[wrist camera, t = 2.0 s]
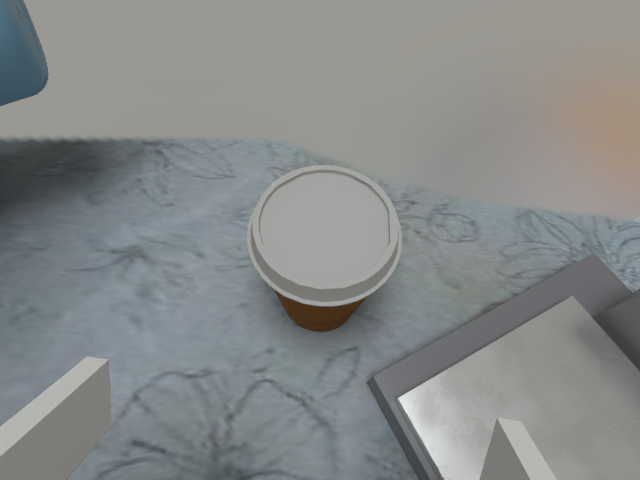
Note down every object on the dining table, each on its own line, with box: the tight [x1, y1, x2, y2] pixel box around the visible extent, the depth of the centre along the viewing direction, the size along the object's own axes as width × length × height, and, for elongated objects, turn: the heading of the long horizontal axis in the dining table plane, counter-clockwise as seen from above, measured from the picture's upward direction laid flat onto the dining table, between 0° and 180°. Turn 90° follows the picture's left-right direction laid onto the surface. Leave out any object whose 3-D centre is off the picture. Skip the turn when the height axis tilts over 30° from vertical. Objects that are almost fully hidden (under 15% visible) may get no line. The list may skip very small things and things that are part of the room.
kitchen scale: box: [367, 253, 640, 480], centre depth 24 cm, size 20×22×8 cm
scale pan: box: [395, 296, 640, 480], centre depth 23 cm, size 16×16×1 cm
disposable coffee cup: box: [247, 165, 402, 332], centre depth 27 cm, size 10×10×12 cm
